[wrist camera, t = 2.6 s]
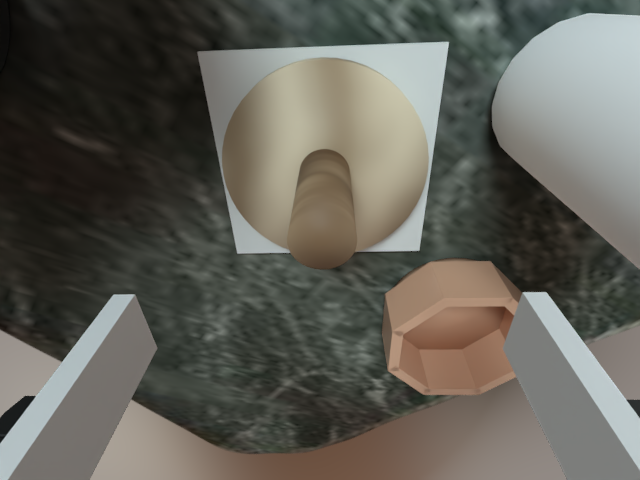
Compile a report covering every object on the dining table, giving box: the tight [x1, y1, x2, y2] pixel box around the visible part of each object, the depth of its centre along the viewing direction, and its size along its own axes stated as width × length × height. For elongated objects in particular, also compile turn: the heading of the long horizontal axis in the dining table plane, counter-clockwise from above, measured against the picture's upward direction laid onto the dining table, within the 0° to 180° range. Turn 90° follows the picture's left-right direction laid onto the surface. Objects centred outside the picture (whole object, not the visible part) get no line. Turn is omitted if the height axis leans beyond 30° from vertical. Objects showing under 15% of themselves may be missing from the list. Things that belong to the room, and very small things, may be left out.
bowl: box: [382, 258, 522, 395], centre depth 29 cm, size 11×11×5 cm
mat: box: [197, 42, 449, 254], centre depth 24 cm, size 14×14×1 cm
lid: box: [222, 57, 429, 269], centre depth 20 cm, size 13×13×9 cm
